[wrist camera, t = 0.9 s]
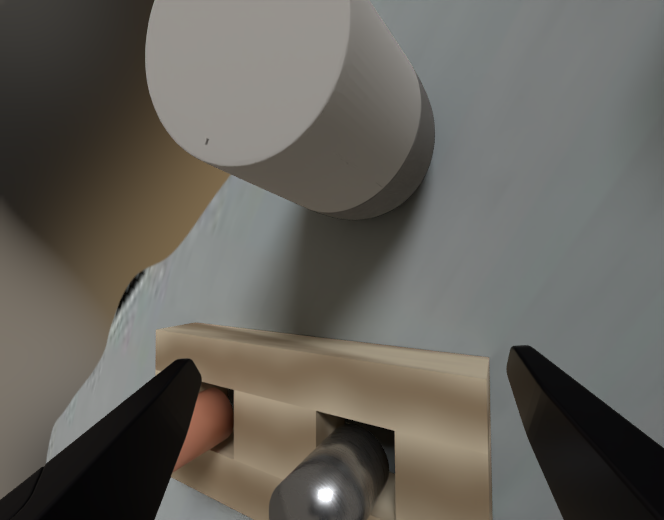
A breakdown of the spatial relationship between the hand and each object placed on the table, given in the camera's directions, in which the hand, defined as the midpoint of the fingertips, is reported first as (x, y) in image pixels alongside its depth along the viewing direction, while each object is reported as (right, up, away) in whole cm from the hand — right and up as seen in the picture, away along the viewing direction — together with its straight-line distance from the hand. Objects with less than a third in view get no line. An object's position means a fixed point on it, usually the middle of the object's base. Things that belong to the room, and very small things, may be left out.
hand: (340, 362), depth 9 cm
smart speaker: (+3, +10, +13) cm, 17 cm away
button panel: (-2, -9, +15) cm, 18 cm away
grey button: (+1, -9, +9) cm, 13 cm away
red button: (-9, -9, +15) cm, 20 cm away
